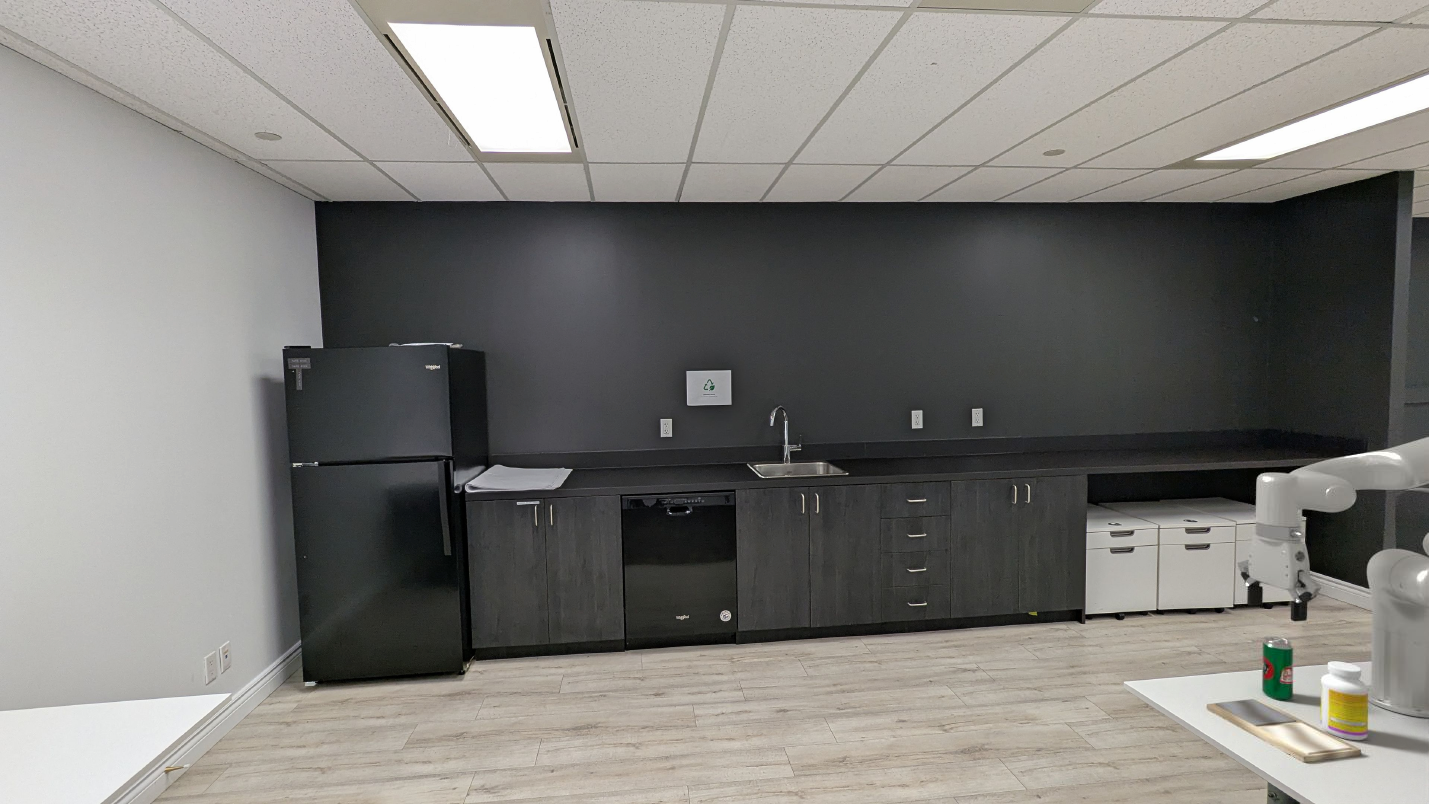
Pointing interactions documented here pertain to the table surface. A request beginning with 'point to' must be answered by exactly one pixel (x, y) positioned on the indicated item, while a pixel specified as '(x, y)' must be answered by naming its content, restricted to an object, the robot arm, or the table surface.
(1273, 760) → the table surface
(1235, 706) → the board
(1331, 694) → the supplement bottle
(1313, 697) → the table surface
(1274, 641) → the soda can
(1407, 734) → the table surface
